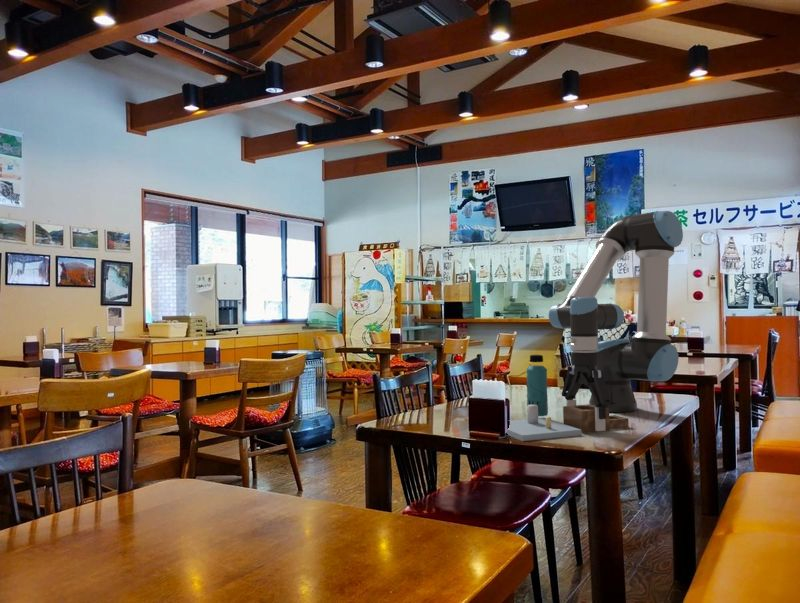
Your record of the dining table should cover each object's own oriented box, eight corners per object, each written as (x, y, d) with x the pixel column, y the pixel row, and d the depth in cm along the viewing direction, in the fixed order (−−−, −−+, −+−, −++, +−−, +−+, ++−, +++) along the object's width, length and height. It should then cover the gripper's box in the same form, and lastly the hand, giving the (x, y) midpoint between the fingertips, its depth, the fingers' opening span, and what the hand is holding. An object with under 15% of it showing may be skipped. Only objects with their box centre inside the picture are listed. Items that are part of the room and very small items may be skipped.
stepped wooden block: (581, 433, 168) (581, 411, 168) (563, 427, 177) (563, 406, 177) (632, 428, 173) (631, 407, 173) (611, 422, 182) (611, 402, 182)
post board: (544, 422, 184) (543, 401, 184) (581, 435, 166) (580, 411, 166) (490, 427, 179) (489, 405, 179) (522, 441, 161) (521, 416, 161)
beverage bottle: (547, 417, 193) (545, 353, 193) (550, 421, 186) (548, 355, 186) (525, 417, 193) (524, 354, 193) (528, 421, 187) (526, 355, 187)
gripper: (549, 349, 185) (550, 419, 185) (600, 354, 161) (601, 435, 161) (570, 348, 187) (571, 417, 187) (624, 353, 163) (625, 433, 163)
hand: (585, 426), depth 174 cm, fingers open, 13 cm apart
